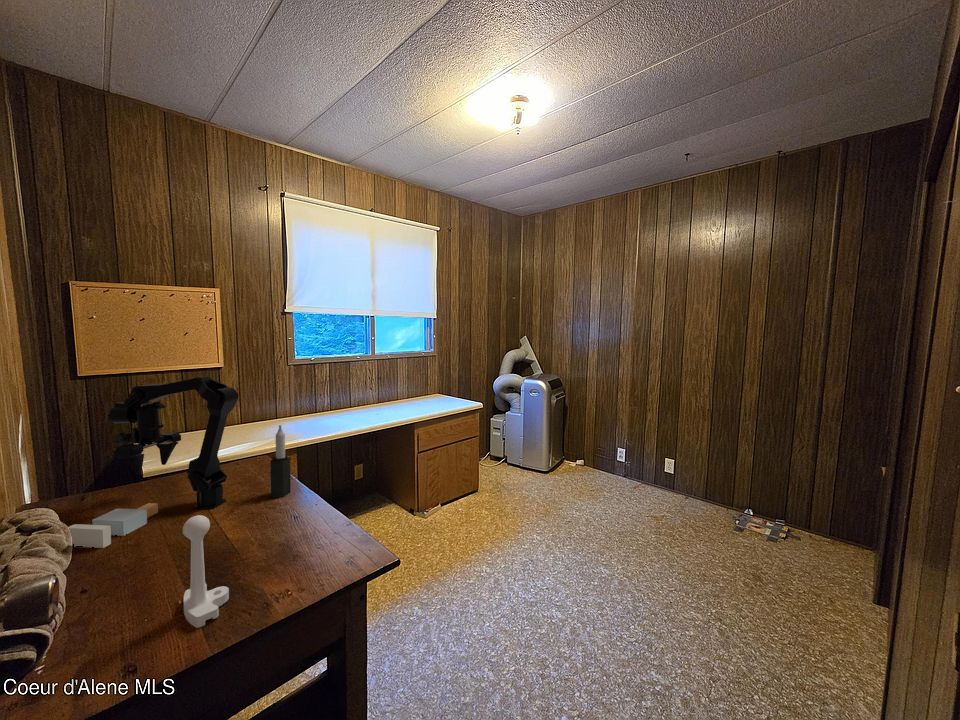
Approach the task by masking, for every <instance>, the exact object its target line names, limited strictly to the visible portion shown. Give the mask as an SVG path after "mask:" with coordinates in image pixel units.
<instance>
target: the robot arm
mask: <svg viewBox="0 0 960 720" xmlns="http://www.w3.org/2000/svg"><path fill="white" fill-rule="evenodd" d="M190 391H197V393H198V395H199V396H200V398H202V399H203V400H205V401H206V408H207V411H208V413H209V417H208V420H207V424H206V428H205V432H204V436H203V440H202V443H201V448H200V452H199V455H198V457H196V458H194V459H192V460H189V463H188V469H187V471H186V472H185V473H186V474H187V480H189V482H190V485H191V487H192V489H193V492H196V505H194V506H193V508H194V509H205V510H206V509H207V510H208V509H209V510H212V509H215V508H217V507H218V506H220V505H222V504H223V503H225V502H226V501H227V499H226V498H224V487H223V486H224V485H223V484H224V483H225V482H226V481H227V479H228V475H227V474H226V473H225V472H224V471H223V470H222V469H221V467H220V466H221V462H220V459H219V457H218V453H219V450H220V446H221V442H222V440H223V434H224V430H225V427H226V422H227V419H228V416H229V414H231V412H232V410H233V409H234V408H235V407H236V404H237V402H238V400H239V393H238V392H237V390H236V389H235V388H233V387H230V386H228V385H227V384H225V383H222V382H219V381H217V380H214V379H212V378H211V377H210V376H207V375H202V376H196V377H193V378H190V379H184V380H178V381H175V382H169V383H150V384H144V385H143V384H142V385H136V386H135V385H134V387H132V388H131V390H130V393H129V395H128V396H127V398H125V400H124V401H120V402H115V403H114V405H113V407H112V408H111V409H110V410H109V413H108V419H109V421H110V422H111V423H112V424H134V423H135V424H136V426H135V427H134V426H133V427H132V432H130V433H125V432H120V433H116V434H114V442H115V444H116V445H120V446H116V447H115V448H114V450H113V457H115V458H116V457H117V458H119V459H123V460H125V461H127V462H128V464H129V465H130V467H131V468H132V471H134V473H135V475H137V476H138V475H139V476H140V475H141V474H142V471H143V464H144V459H145V453H143V452H144V449H147V448H150V447H154V446H155V447H157V448H158V450H159V456H160V457H159V458H160V462H161V465H162V466H166V465H167V463H168V460H169V459H170V457H171V455H172V453H173V451H174V450H175V448H176V446H177V445H178V444H179V442H180V441H182V434H180V433H179V432H163V433H161V428H164V424H162V423H161V420H160V410H161V409H166V405H165V404H163V403H162V402H160V401H159V400H162V399H164V398H166V397H168V396H171V395H173V394H180V393H184V392H190ZM152 402H153V403H152Z"/></svg>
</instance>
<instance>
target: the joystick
mask: <svg viewBox="0 0 960 720" xmlns="http://www.w3.org/2000/svg"><path fill="white" fill-rule="evenodd" d="M210 527H211V521H210V520H209V518H208V517H207V516H205V515H202V514H201V515H194V516H192V517H190V518H188V519H187V520H186V521H185V522H184V524H183V526H182V534H183V535H184V537H186V538H187V539H188V540H190V588H188V589H186V590H185V592H184V594H183V614H184V617H185V620H186V621H187V622H188V623H189V624H190V625H191V626H193V627H194V628H196V629H198V628H199V629H200V628H201V627H204V626H206V621H207V620H210V619H213V620H214V619H217V618H218V617H219V615H220V613H219V612H220V611H219V607H221V606H223V605H224V604H225V603H226V602H228V600H229V599H230V588H229V587H228V586H223V585H222V586H217V587H215V588H212V589H210V590H209V589H208V588H207V586H208V585H207V583H206V575H205V574H206V572H205V559H204V558H205V556H204V555H205V553H204V537H205V535H207V533H208V532H209V530H210V529H211V528H210Z"/></svg>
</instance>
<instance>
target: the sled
mask: <svg viewBox="0 0 960 720" xmlns="http://www.w3.org/2000/svg"><path fill="white" fill-rule="evenodd" d="M91 520H92V524H91V525H105V526H110V527H111V536H115V535H117V536H118V537H120V536H121V537H124V536H127V535H128V534H130V533H132V532H134V531H136V530H137V529H139V528H141V527H143V526H145V525H147V524H148V518H147V510H141V509H138V508H115V509H113V510H111V511H109V512H106V513H104V514H102V515H99V516H97V517H95V518H93V519H91ZM126 534H127V535H126Z"/></svg>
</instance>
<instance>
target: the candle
mask: <svg viewBox="0 0 960 720" xmlns="http://www.w3.org/2000/svg"><path fill="white" fill-rule="evenodd" d="M290 492H291V457H289V456H288V455H286V434H285V432H284V431H283V427H282V424H279V425H278V430H277V432H276V434H275V456H274V457H272V459H271V460H270V497H271V496H272V497H273V498H279V497H281V498H284V497H285V495H286V496H287V495H289V494H288V493H290ZM290 494H291V493H290Z"/></svg>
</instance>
